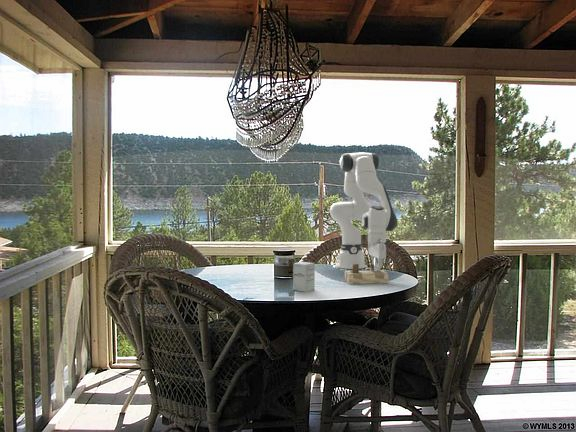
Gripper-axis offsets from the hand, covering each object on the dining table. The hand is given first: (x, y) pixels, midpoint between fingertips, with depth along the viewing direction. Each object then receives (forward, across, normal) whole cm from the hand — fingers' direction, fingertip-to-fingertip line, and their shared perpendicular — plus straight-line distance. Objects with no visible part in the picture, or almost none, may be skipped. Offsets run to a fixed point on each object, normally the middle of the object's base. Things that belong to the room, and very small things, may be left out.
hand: (377, 266), depth 274 cm
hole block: (+8, 0, +6) cm, 10 cm away
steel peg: (+8, 0, 0) cm, 8 cm away
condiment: (+8, +16, -4) cm, 18 cm away
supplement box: (+8, -18, +40) cm, 44 cm away
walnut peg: (+8, 0, +11) cm, 13 cm away
